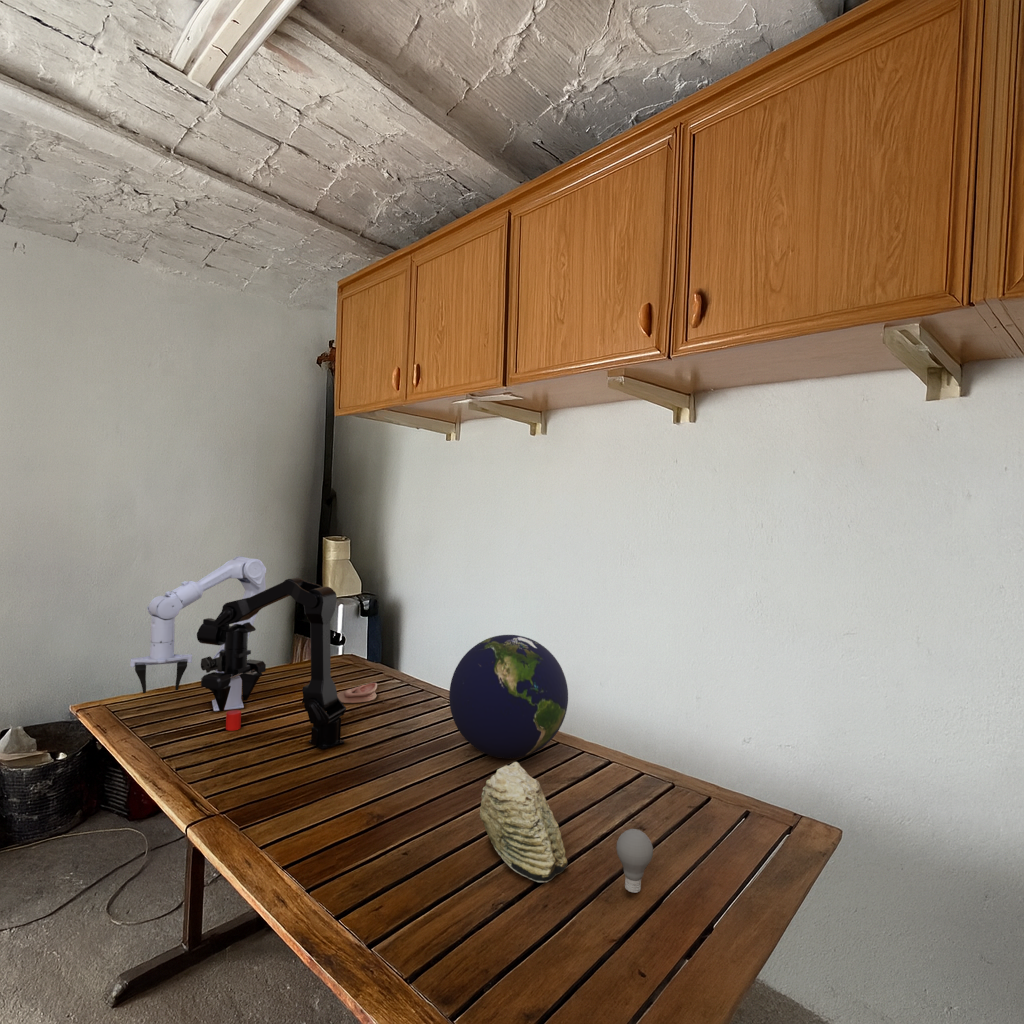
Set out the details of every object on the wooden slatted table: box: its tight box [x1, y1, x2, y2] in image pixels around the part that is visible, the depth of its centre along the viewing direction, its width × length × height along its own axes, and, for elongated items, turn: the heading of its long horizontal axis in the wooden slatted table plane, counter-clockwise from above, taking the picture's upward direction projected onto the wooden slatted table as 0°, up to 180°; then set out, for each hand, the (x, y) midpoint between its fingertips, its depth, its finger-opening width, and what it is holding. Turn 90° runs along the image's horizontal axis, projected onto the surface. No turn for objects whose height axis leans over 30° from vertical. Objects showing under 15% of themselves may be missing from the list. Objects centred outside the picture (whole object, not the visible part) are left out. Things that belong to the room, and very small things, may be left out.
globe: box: [448, 634, 569, 760], centre depth 160 cm, size 30×30×30 cm
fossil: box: [479, 761, 569, 883], centre depth 114 cm, size 9×18×15 cm, turn 46°
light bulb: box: [615, 828, 654, 894], centre depth 106 cm, size 6×6×10 cm
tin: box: [225, 709, 242, 732], centre depth 170 cm, size 4×4×4 cm
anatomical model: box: [337, 682, 378, 704], centre depth 199 cm, size 13×4×12 cm
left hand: (160, 690), depth 172 cm, fingers open, 7 cm apart
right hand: (233, 705), depth 169 cm, fingers open, 9 cm apart
